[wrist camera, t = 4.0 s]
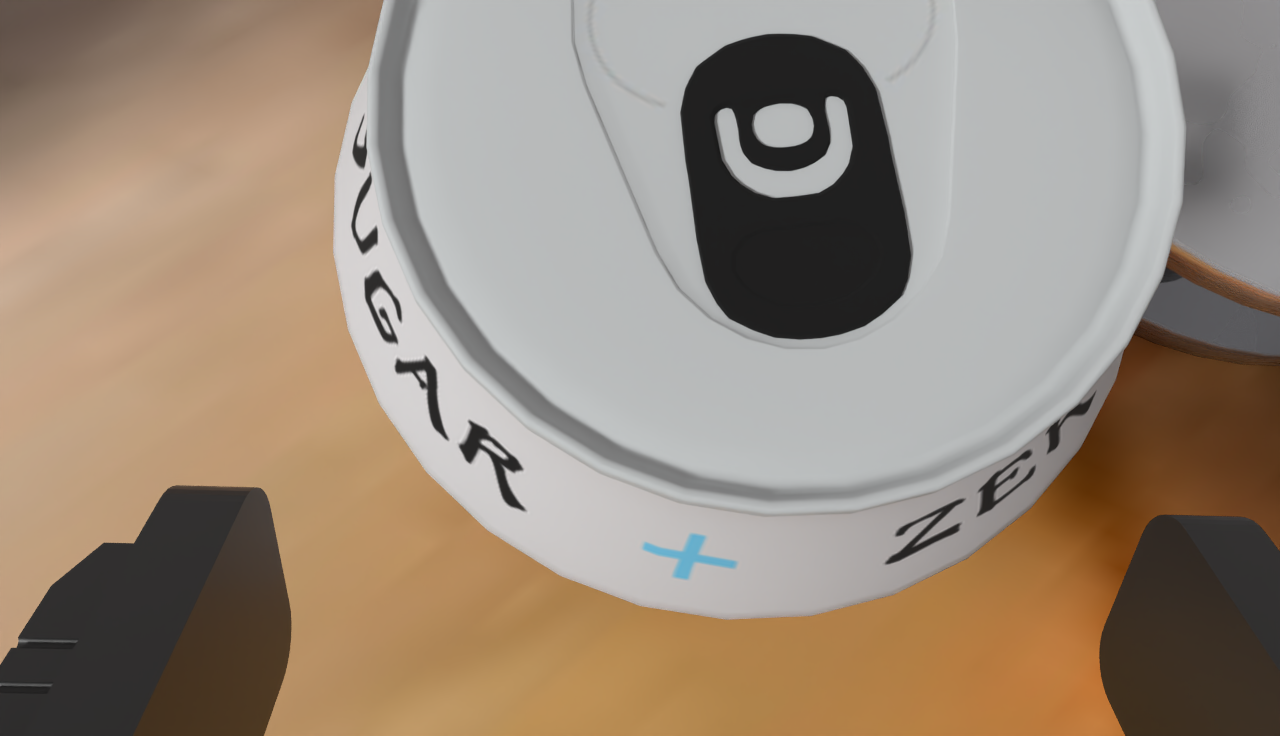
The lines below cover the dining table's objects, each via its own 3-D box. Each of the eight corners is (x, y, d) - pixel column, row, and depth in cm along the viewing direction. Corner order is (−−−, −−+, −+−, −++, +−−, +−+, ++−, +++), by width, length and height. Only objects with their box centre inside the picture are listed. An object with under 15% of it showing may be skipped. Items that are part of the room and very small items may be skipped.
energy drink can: (773, 279, 22) (1154, -373, 7) (824, 572, 20) (1416, 546, 6) (483, 315, 21) (224, -296, 6) (518, 616, 20) (297, 712, 5)
